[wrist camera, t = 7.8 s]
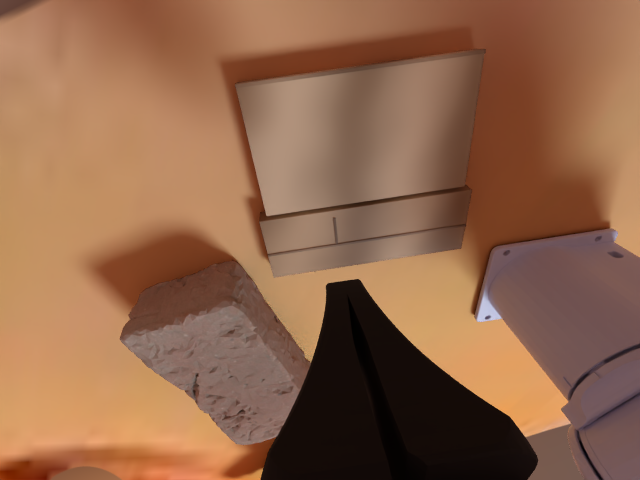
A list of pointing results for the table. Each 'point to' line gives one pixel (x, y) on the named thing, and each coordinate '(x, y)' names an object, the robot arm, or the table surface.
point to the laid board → (365, 231)
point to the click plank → (362, 130)
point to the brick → (220, 349)
